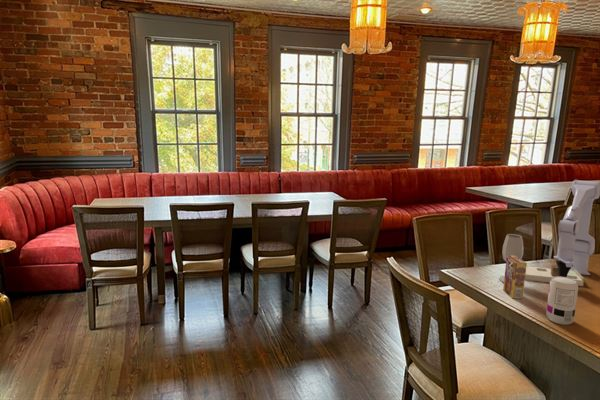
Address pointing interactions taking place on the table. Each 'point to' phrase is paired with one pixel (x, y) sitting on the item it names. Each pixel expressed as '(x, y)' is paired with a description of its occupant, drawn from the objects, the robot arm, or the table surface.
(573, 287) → the supplement can
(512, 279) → the candy box
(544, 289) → the table surface
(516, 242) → the wineglass
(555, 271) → the block
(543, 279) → the beige flat block
